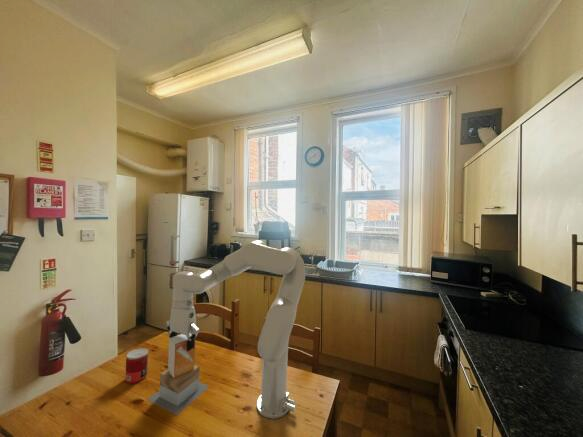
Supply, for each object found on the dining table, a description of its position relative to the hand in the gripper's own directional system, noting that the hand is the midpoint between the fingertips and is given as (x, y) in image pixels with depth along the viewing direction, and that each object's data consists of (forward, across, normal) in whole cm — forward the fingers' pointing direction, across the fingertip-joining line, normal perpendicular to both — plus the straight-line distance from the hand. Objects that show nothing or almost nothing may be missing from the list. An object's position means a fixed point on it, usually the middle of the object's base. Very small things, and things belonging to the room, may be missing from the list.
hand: (181, 346), depth 93 cm
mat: (+19, 0, 0) cm, 19 cm away
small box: (+10, 0, 0) cm, 10 cm away
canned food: (+19, +24, +2) cm, 31 cm away
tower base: (+18, 0, 0) cm, 18 cm away
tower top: (+14, 0, 0) cm, 14 cm away
